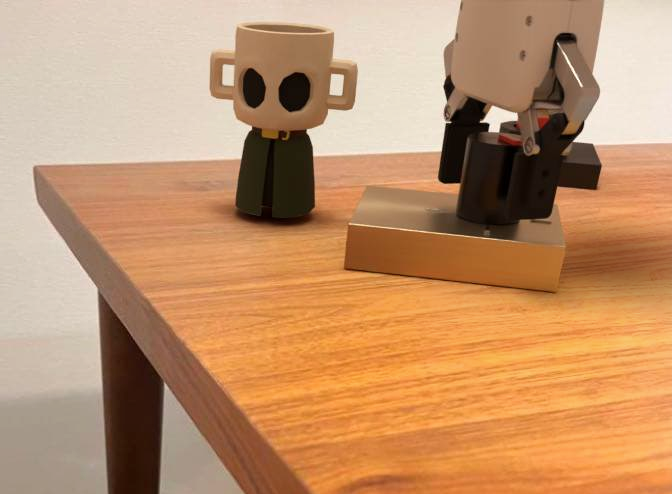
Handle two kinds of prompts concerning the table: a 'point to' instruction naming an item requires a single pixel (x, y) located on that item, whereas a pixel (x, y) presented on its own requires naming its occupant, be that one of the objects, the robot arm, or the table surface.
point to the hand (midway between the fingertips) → (491, 198)
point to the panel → (451, 242)
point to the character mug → (280, 109)
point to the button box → (572, 162)
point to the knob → (487, 176)
